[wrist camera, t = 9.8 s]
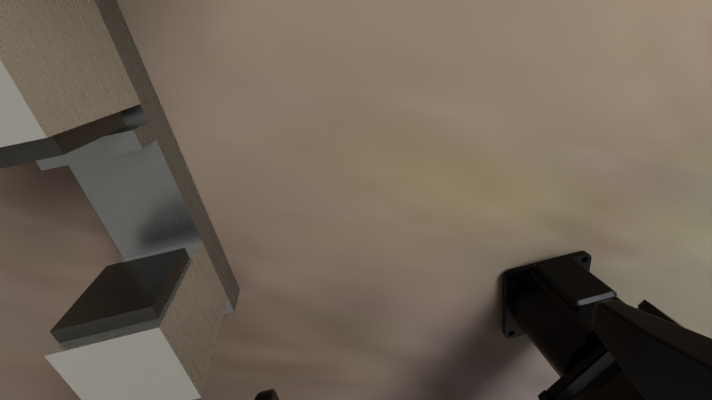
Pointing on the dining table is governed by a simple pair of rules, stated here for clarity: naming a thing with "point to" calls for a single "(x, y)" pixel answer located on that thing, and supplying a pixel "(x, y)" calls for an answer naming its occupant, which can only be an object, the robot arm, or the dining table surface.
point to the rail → (143, 259)
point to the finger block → (57, 79)
